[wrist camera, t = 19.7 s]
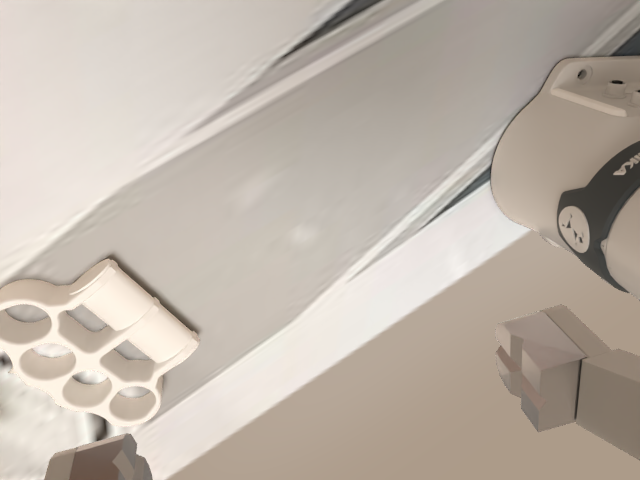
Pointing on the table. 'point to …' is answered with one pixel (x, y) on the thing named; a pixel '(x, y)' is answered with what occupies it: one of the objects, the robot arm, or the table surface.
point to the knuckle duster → (95, 342)
